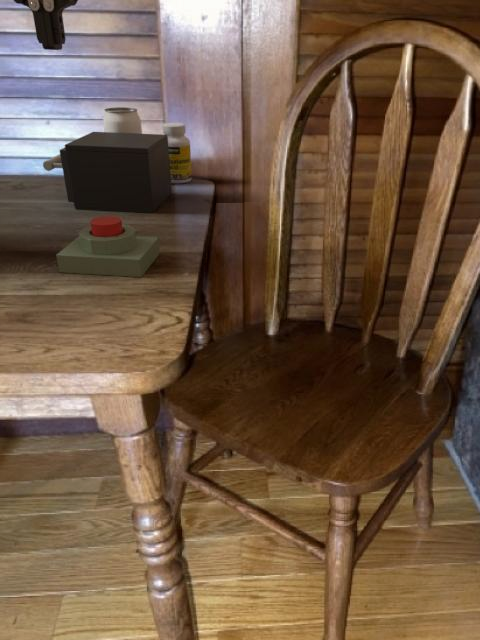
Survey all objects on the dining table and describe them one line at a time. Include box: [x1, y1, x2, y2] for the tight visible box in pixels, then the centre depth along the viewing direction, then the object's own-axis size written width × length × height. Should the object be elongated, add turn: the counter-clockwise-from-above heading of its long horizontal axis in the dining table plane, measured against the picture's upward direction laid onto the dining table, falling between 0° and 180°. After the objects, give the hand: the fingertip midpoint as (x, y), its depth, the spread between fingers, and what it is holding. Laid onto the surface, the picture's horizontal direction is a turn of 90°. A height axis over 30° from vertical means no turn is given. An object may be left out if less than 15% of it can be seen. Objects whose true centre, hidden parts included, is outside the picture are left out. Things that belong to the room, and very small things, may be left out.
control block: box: [55, 223, 160, 278], centre depth 70 cm, size 10×8×4 cm
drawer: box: [42, 147, 74, 203], centre depth 92 cm, size 16×10×8 cm
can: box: [102, 106, 143, 134], centre depth 103 cm, size 6×6×12 cm
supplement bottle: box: [162, 122, 192, 185], centre depth 104 cm, size 5×5×10 cm
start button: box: [89, 215, 123, 237], centre depth 68 cm, size 4×4×2 cm
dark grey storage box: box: [64, 131, 173, 214], centre depth 92 cm, size 13×12×10 cm
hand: (52, 49), depth 67 cm, fingers closed
